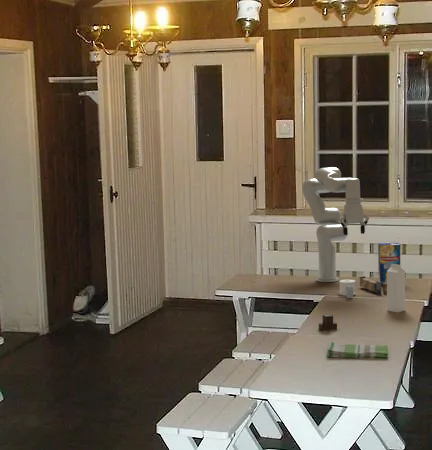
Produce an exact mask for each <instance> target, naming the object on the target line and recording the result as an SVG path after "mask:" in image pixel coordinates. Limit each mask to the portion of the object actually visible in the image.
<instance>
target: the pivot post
mask: <svg viewBox="0 0 432 450" xmlns="http://www.w3.org/2000/svg"><path fill="white" fill-rule="evenodd" d="M375 282H376V292H375V294H376V295H382V285H381V281H379V280H377V281H375Z"/></svg>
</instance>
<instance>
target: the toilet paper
mask: <svg viewBox="0 0 432 450" xmlns="http://www.w3.org/2000/svg"><path fill="white" fill-rule="evenodd" d="M338 282H339V295H340V296H346V286H352V287H353V296H356V290H357V289H356V280H355V279H341V280H340V279H339V280H338Z"/></svg>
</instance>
